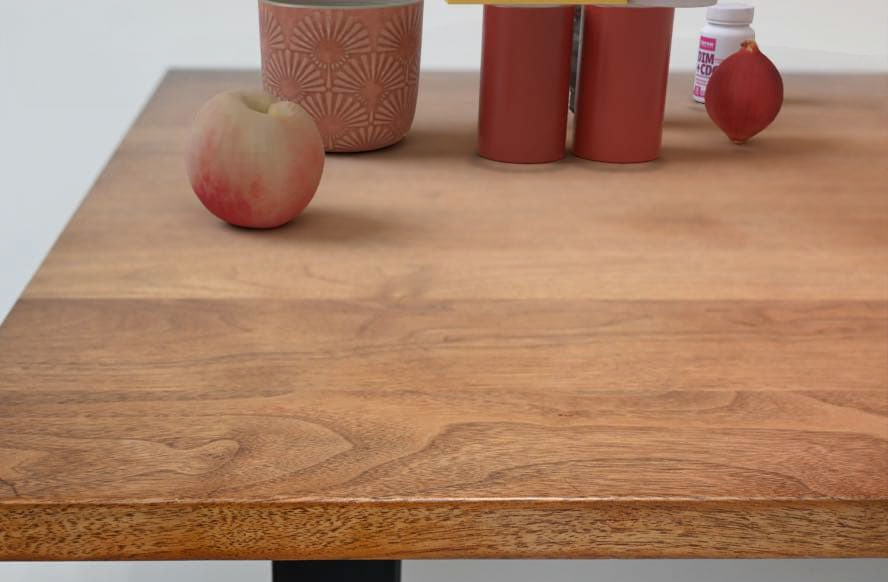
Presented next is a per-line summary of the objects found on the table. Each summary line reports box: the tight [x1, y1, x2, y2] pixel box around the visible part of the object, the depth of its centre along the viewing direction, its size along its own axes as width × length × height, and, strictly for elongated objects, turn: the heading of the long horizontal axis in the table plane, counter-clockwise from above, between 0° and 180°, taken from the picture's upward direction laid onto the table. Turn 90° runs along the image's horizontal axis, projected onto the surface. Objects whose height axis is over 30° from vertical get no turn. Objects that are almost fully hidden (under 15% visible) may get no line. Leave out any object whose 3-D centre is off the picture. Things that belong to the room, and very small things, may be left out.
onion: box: [704, 39, 785, 145], centre depth 96 cm, size 6×6×8 cm
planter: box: [257, 0, 425, 153], centre depth 95 cm, size 12×12×11 cm
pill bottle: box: [692, 2, 756, 104], centre depth 112 cm, size 5×5×8 cm
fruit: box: [184, 87, 326, 229], centre depth 75 cm, size 8×8×8 cm
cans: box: [476, 2, 676, 164], centre depth 92 cm, size 14×7×11 cm, turn 92°
